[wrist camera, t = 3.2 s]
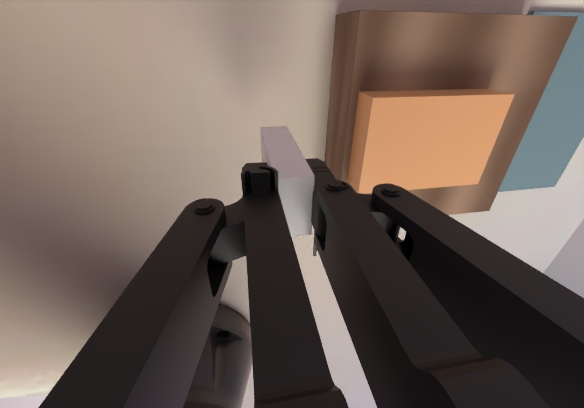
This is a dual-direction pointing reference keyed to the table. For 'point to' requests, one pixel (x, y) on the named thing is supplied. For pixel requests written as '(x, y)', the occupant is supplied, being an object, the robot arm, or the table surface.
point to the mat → (553, 119)
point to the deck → (443, 78)
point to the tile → (424, 137)
